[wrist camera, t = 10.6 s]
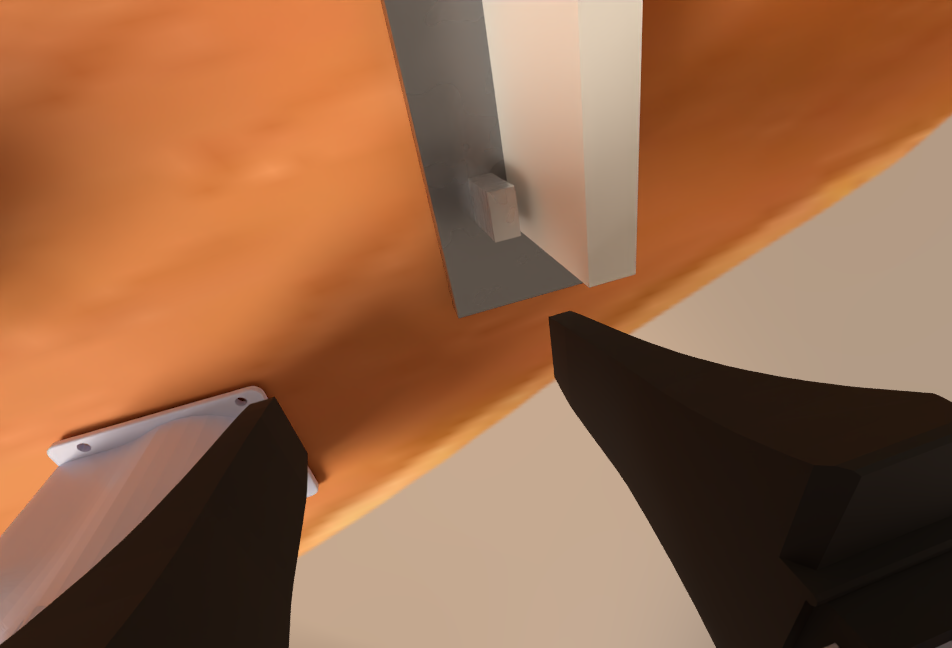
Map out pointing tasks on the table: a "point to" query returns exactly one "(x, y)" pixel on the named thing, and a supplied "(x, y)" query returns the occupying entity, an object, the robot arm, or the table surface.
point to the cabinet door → (571, 126)
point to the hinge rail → (465, 155)
